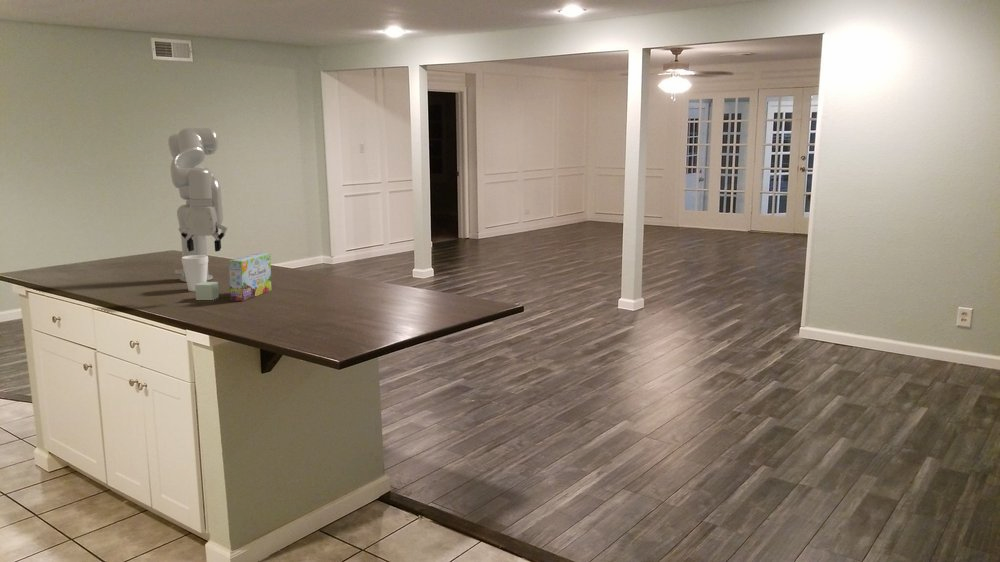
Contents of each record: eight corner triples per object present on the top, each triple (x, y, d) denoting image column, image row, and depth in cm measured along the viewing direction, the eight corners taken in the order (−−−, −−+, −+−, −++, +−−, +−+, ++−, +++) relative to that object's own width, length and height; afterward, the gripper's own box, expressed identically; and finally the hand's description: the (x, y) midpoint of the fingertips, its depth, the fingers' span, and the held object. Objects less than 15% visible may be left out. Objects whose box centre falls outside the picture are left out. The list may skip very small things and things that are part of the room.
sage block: (196, 301, 271) (195, 284, 270) (202, 297, 277) (201, 281, 276) (212, 301, 271) (211, 284, 270) (218, 297, 277) (217, 281, 276)
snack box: (243, 301, 270) (241, 260, 267) (229, 301, 271) (227, 260, 268) (272, 290, 290) (270, 252, 287) (259, 290, 291) (257, 251, 289)
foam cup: (178, 290, 289) (176, 257, 286) (198, 286, 297) (196, 254, 294) (195, 293, 284) (193, 259, 282) (215, 288, 293) (213, 256, 290)
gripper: (172, 204, 264) (176, 252, 267) (221, 204, 264) (224, 252, 267) (181, 202, 271) (185, 249, 274) (229, 203, 271) (231, 249, 274)
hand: (204, 250), depth 270 cm, fingers open, 9 cm apart
